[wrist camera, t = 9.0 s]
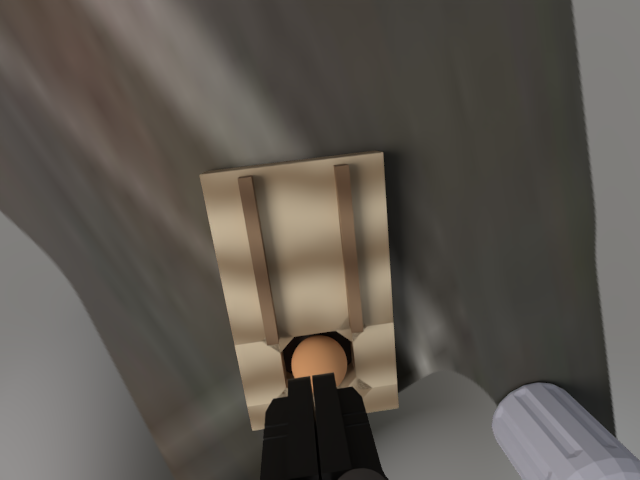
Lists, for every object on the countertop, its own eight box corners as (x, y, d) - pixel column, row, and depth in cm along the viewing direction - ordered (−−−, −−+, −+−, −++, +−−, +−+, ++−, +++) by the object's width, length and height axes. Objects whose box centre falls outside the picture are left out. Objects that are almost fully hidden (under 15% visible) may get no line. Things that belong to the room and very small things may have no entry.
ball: (295, 410, 32) (295, 371, 37) (352, 402, 32) (346, 364, 37) (286, 362, 30) (288, 327, 35) (347, 354, 30) (341, 321, 35)
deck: (206, 171, 30) (195, 176, 27) (375, 150, 31) (387, 153, 27) (254, 411, 37) (251, 440, 34) (391, 390, 38) (402, 417, 34)
